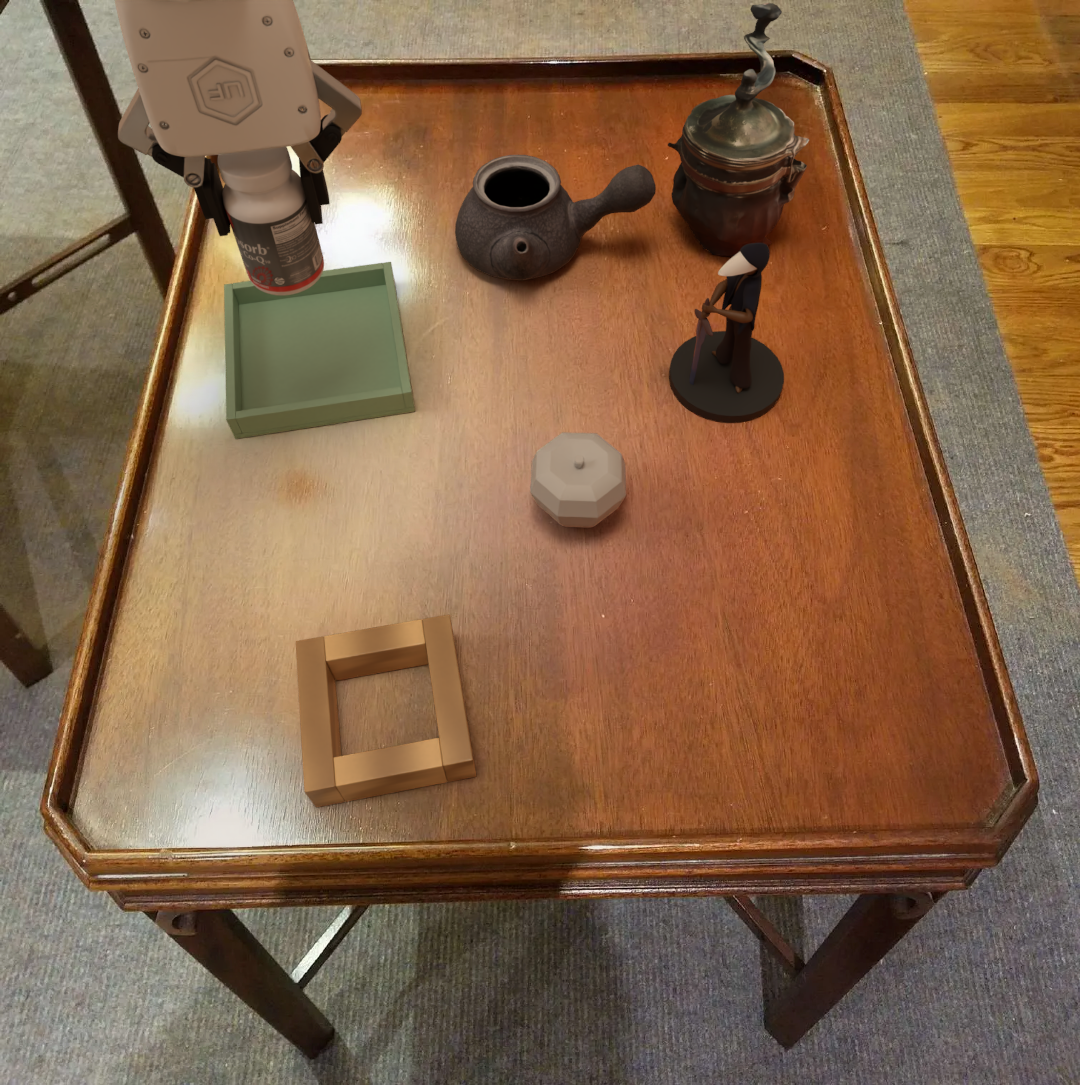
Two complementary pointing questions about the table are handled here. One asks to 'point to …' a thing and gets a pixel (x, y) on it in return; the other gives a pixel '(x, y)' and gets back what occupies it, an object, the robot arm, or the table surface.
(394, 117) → the table surface
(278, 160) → the pill bottle
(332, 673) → the holder
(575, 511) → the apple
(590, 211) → the teapot
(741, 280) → the figurine
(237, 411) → the tray
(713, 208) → the coffee grinder
